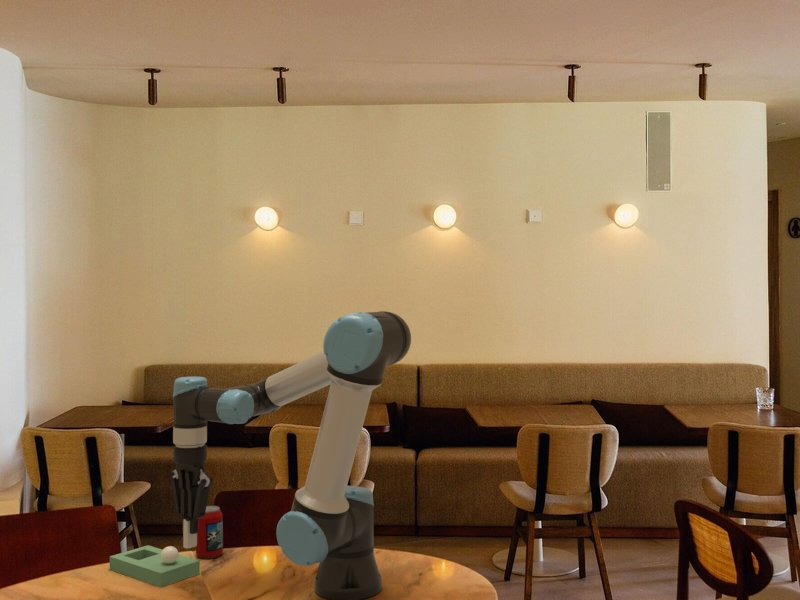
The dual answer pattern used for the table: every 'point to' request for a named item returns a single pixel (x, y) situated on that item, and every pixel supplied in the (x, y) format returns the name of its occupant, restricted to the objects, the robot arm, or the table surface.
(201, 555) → the beverage can
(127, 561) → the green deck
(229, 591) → the table surface
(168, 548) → the ball
